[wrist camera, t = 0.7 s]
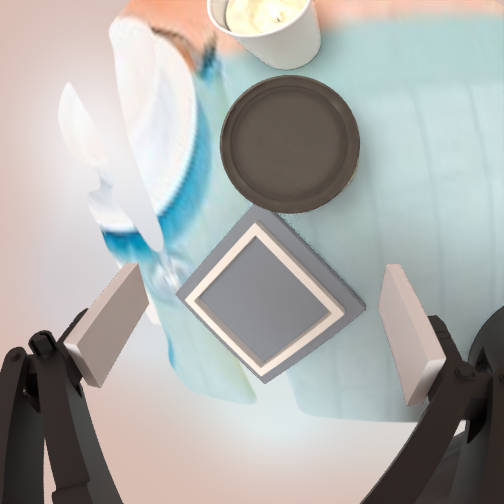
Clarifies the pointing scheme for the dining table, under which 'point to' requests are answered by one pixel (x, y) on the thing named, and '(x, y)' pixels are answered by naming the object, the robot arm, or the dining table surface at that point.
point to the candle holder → (271, 29)
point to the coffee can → (290, 144)
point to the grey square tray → (268, 295)
